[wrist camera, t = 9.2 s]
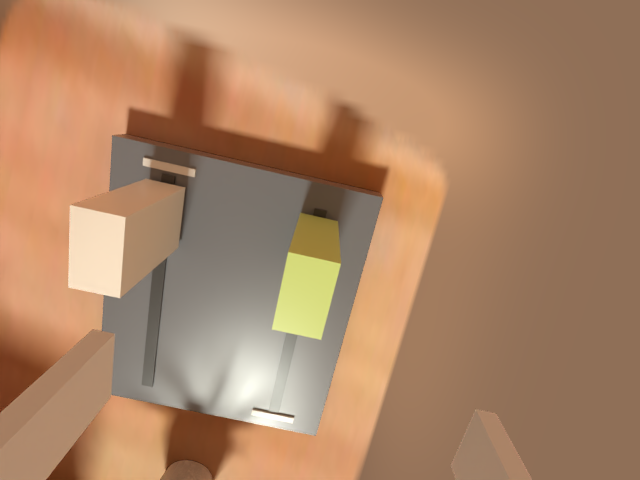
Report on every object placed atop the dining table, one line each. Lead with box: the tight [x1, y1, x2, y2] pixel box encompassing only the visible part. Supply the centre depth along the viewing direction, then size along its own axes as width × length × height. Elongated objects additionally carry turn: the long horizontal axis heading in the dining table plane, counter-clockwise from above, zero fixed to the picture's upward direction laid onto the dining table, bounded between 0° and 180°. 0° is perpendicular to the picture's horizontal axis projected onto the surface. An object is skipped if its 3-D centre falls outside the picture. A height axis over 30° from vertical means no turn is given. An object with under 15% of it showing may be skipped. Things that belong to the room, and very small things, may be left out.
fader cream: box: [68, 179, 185, 298], centre depth 26 cm, size 3×5×9 cm, turn 167°
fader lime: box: [272, 213, 341, 340], centre depth 26 cm, size 3×5×9 cm, turn 167°
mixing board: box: [102, 134, 383, 436], centre depth 34 cm, size 21×24×2 cm
